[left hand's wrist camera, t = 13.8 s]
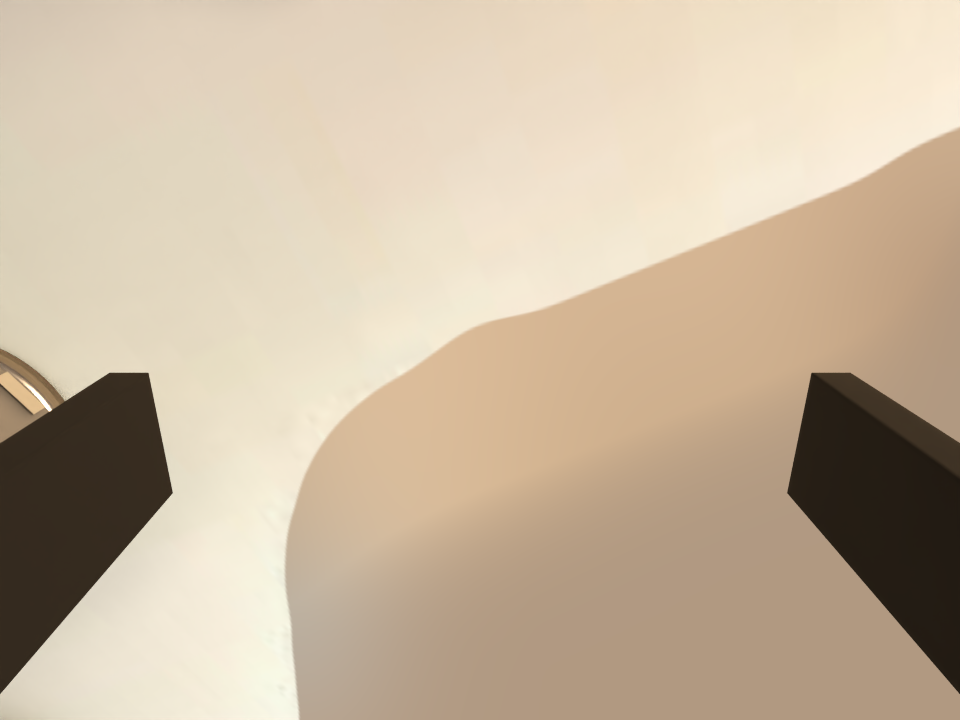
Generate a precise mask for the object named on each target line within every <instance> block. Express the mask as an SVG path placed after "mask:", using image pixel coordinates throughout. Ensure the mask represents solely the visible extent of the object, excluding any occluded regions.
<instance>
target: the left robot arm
mask: <svg viewBox="0 0 960 720" xmlns="http://www.w3.org/2000/svg"><path fill="white" fill-rule="evenodd" d="M172 493H173V492H172V487H171V482H170V477H169V472H168V467H167V462H166V457H165V452H164V447H163V443H162V438H161V433H160V428H159V423H158V418H157V413H156V408H155V403H154V398H153V393H152V388H151V383H150V378H149V373H109V374H107V375H106V376H104V377H102V378H101V379H99V380H98V381H96V382H95V383H93V384H92V385H90V386H88V387H87V388H85V389H84V390H82V391H81V392H79V393H77V394H76V395H74V396H73V397H71V398H70V399H68V400H67V401H64V400H63V398H62V397H61V396H60V394H59V393H58V392H57V391H56V390H55V388H54V387H53V386H52V385H51V384H50V383H49V382H48V381H47V380H46V379H45V378H44V377H43V376H41V375H40V374H39V373H38V372H37V371H36V370H34V369H33V368H32V367H30V366H29V365H28V364H26V363H25V362H23V361H22V360H20V359H19V358H17V357H15V356H13V355H12V354H10V353H8V352H6V351H4V350H2V349H0V694H1V692H2V691H3V690H4V689H5V688H6V687H7V685H8V684H9V683H10V682H11V681H12V680H13V678H14V677H15V676H16V675H17V674H18V673H19V671H20V670H21V669H22V668H23V667H24V666H25V664H26V663H27V662H28V661H29V660H30V659H31V657H32V656H33V655H34V654H35V653H36V652H37V650H38V649H39V648H40V647H41V646H42V645H43V643H44V642H45V641H46V640H47V639H48V638H49V637H50V635H51V634H52V633H53V632H54V631H55V630H56V628H57V627H58V626H59V625H60V624H61V623H62V621H63V620H64V619H65V618H66V617H67V616H68V614H69V613H70V612H71V611H72V610H73V609H74V607H75V606H76V605H77V604H78V603H79V602H80V600H81V599H82V598H83V597H84V596H85V595H86V593H87V592H88V591H89V590H90V589H91V588H92V586H93V585H94V584H95V583H96V582H97V581H98V579H99V578H100V577H101V576H102V575H103V574H104V572H105V571H106V570H107V569H108V568H109V567H110V565H111V564H112V563H113V562H114V561H115V560H116V558H117V557H118V556H119V555H120V554H121V553H122V552H123V550H124V549H125V548H126V547H127V546H128V545H129V543H130V542H131V541H132V540H133V539H134V538H135V536H136V535H137V534H138V533H139V532H140V531H141V529H142V528H143V527H144V526H145V525H146V524H147V522H148V521H149V520H150V519H151V518H152V517H153V515H154V514H155V513H156V512H157V511H158V510H159V508H160V507H161V506H162V505H163V504H164V503H165V501H166V500H167V499H168V498H169V497H170V496H171V494H172ZM787 493H788V494H789V496H790V497H791V498H792V499H793V500H794V501H795V503H796V504H797V505H798V506H799V507H800V508H801V510H802V511H803V512H804V513H805V514H806V515H807V516H808V518H809V519H810V520H811V521H812V522H813V524H814V525H815V526H816V527H817V528H818V529H819V530H820V532H821V533H822V534H823V535H824V536H825V538H826V539H827V540H828V541H829V542H830V543H831V545H832V546H833V547H834V548H835V549H836V550H837V551H838V553H839V554H840V555H841V556H842V557H843V558H844V560H845V561H846V562H847V563H848V564H849V565H850V567H851V568H852V569H853V570H854V571H855V572H856V574H857V575H858V576H859V577H860V578H861V579H862V581H863V582H864V583H865V584H866V585H867V586H868V588H869V589H870V590H871V591H872V592H873V593H874V595H875V596H876V597H877V598H878V599H879V600H880V602H881V603H882V604H883V605H884V606H885V607H886V609H887V610H888V611H889V612H890V613H891V614H892V616H893V617H894V618H895V619H896V620H897V621H898V623H899V624H900V625H901V626H902V627H903V628H904V629H905V631H906V632H907V633H908V634H909V635H910V637H911V638H912V639H913V640H914V641H915V642H916V643H917V645H918V646H919V647H920V648H921V649H922V650H923V652H924V653H925V654H926V655H927V656H928V657H929V659H930V660H931V661H932V662H933V663H934V664H935V666H936V667H937V668H938V669H939V670H940V671H941V673H942V674H943V675H944V676H945V677H946V678H947V680H948V681H949V682H950V683H951V684H952V685H953V687H954V688H955V689H956V690H957V691H958V692H959V694H960V443H959V442H957V441H956V440H954V439H953V438H951V437H949V436H948V435H946V434H945V433H943V432H942V431H940V430H939V429H937V428H935V427H934V426H932V425H931V424H929V423H928V422H926V421H925V420H923V419H921V418H920V417H918V416H917V415H915V414H914V413H912V412H911V411H909V410H907V409H906V408H904V407H903V406H901V405H900V404H898V403H897V402H895V401H893V400H892V399H890V398H889V397H887V396H886V395H884V394H883V393H881V392H879V391H878V390H876V389H875V388H873V387H872V386H870V385H868V384H867V383H865V382H864V381H862V380H861V379H859V378H858V377H856V376H854V375H853V374H851V373H812V374H811V379H810V383H809V388H808V393H807V398H806V403H805V408H804V413H803V418H802V423H801V428H800V433H799V438H798V443H797V448H796V453H795V457H794V462H793V467H792V472H791V477H790V482H789V487H788V492H787Z"/></svg>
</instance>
